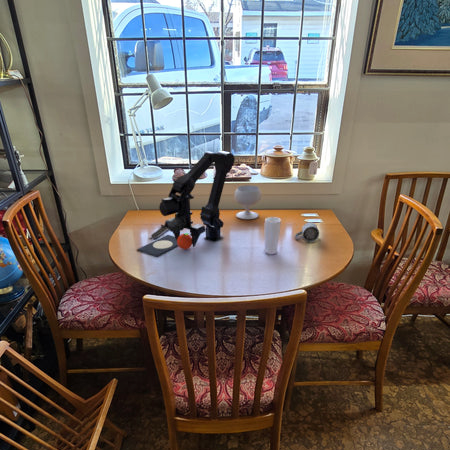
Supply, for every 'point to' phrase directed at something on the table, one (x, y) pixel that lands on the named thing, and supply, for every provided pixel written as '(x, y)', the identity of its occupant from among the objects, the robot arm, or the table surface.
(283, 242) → the table surface
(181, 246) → the clementine
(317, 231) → the ceramic mug
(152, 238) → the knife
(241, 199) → the chalice
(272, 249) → the drinking glass
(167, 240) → the placemat
